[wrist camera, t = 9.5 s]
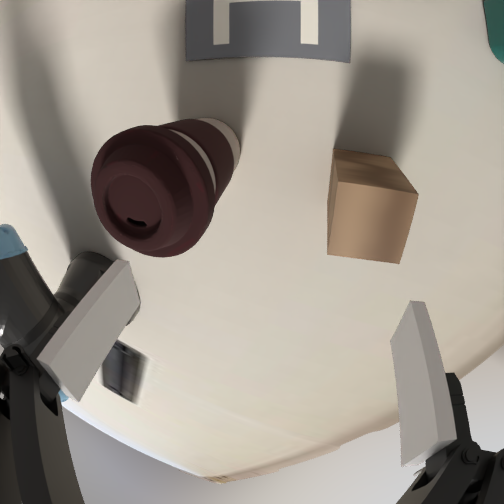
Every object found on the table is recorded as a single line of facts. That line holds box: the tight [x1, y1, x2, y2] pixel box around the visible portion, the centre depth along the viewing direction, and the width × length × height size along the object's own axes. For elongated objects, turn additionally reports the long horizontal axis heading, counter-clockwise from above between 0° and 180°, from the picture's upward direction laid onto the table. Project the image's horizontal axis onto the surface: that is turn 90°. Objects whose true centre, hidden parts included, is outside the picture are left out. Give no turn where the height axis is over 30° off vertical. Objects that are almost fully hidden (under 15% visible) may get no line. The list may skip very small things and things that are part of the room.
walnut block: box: [327, 149, 419, 264], centre depth 24 cm, size 6×6×10 cm
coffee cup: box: [91, 118, 240, 257], centre depth 24 cm, size 10×10×15 cm
